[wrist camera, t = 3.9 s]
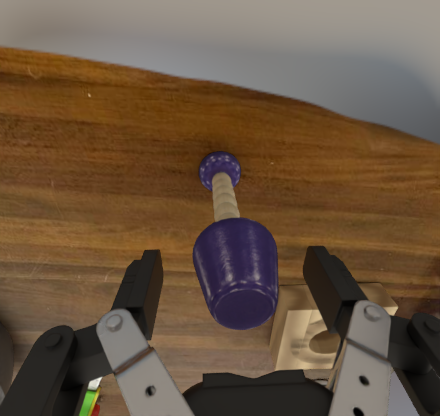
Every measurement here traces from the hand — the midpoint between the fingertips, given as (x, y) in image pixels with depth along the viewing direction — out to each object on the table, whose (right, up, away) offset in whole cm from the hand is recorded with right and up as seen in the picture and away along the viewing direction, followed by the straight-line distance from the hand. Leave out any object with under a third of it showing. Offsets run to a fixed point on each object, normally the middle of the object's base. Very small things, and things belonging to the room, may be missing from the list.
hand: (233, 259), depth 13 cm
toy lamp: (-1, +7, +12) cm, 13 cm away
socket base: (+14, -14, +24) cm, 31 cm away
